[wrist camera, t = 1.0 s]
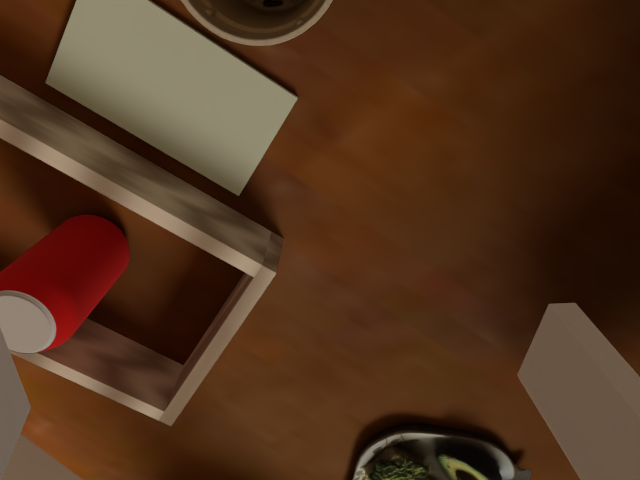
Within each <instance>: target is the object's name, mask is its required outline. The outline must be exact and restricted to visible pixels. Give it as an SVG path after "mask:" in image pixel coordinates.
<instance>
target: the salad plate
mask: <svg viewBox="0 0 640 480" xmlns="http://www.w3.org/2000/svg"><path fill="white" fill-rule="evenodd" d="M414 441H418V442H414ZM530 478H531V469H522V468H520V467H518V466H517V465H516V464H515V463H514V462H513V461H512V460H511V458H510V457H509V455H508V454H507V453H506V452H505V451H504V450H503V449H502V448H501V447H500V446H498V445H497V444H495V443H494V442H492V441H491V440H489V439H487V438H485V437H483V436H480V435H477V434H474V433H470V432H466V431H463V430H458V429H451V428H446V427H441V426H435V425H428V424H409V425H401V426H397V427H393V428H390V429H388V430H385V431H384V432H382V433H380V434H378V435H377V436H375V437H374V438H373V439H371V440H370V441H369V442H368V443H367V444H366V445H365V447H364V448H363V449H362V450H361V452H360V453H359V455H358V457H357V459H356V462H355V471H354V475H353V478H352V480H529V479H530Z"/></svg>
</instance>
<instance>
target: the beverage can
mask: <svg viewBox="0 0 640 480" xmlns="http://www.w3.org/2000/svg"><path fill="white" fill-rule="evenodd" d="M129 259H130V249H129V245H128V242H127V240H126V238H125V236H124V234H123V233H122V232H121V230H120V229H119V228H118V227H117V226H115V225H114V224H113V223H111V222H110V221H108V220H106V219H104V218H102V217H99V216H95V215H78V216H74V217H71V218H69V219H67V220H66V221H64V222H63V223H62V224H61V225H59V226H58V227H57V228H56V229H54V230H53V231H52V232H50V233H49V234H48V235H47V236H45V237H44V238H43V239H41V240H40V241H39V242H38V243H36V244H35V245H34V246H33V247H31V248H30V249H29V250H27V251H26V252H25V253H24V254H22V255H21V256H20V257H18V258H17V259H16V260H15V261H13V262H12V263H11V264H10V265H8V266H7V267H6V268H4V269H3V270H2V271H1V272H0V328H1V331H2V333H3V336H4V339H5V341H6V344H7V346H8V349H9V350H10V351H13V352H17V353H23V354H33V353H38V352H42V351H46V350H50V349H53V348H55V347H58V346H59V345H61V344H63V343H64V342H66V341H67V340H68V339H69V338H70V337H71V336H72V335H73V334H74V333H75V332H76V330H77V329H78V328H79V327H80V325H81V324H82V323H83V322H84V320H85V319H86V318H87V317H88V315H89V314H90V313H91V312H92V310H93V309H94V308H95V307H96V305H97V304H98V303H99V302H100V300H101V299H102V298H103V297H104V295H105V294H106V293H107V292H108V290H109V289H110V288H111V287H112V285H113V284H114V283H115V282H116V281H117V279H118V278H119V277H120V276H121V274H122V273H123V272H124V271H125V269H126V267H127V265H128V263H129Z"/></svg>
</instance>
